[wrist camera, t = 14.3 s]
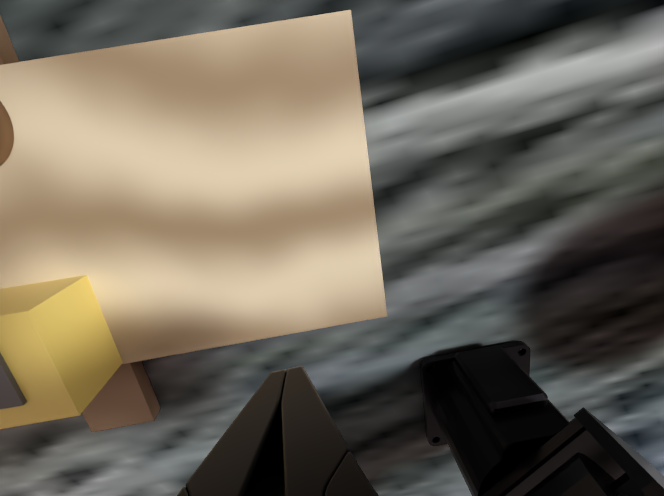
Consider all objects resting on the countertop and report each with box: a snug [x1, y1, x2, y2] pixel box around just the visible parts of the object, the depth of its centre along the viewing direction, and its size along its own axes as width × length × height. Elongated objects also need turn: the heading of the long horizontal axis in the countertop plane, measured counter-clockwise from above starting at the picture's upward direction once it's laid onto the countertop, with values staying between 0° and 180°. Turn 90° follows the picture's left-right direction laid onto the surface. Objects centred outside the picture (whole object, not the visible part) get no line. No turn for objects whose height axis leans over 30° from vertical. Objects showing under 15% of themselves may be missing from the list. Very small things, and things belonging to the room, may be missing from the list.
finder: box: [0, 275, 123, 429], centre depth 15 cm, size 5×4×4 cm
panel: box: [0, 10, 387, 432], centre depth 16 cm, size 22×26×1 cm
